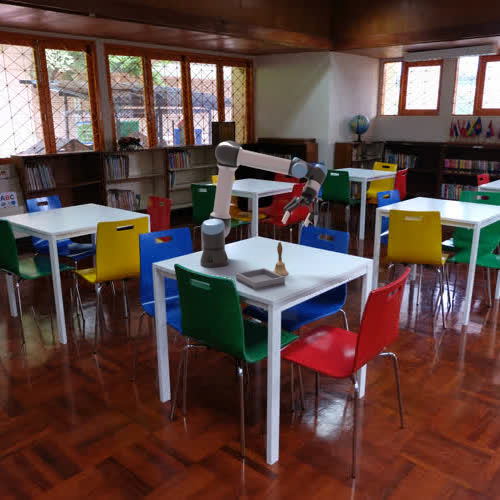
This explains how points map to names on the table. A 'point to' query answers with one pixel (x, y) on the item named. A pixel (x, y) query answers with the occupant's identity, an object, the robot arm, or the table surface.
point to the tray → (260, 278)
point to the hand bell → (280, 262)
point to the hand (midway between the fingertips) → (294, 223)
